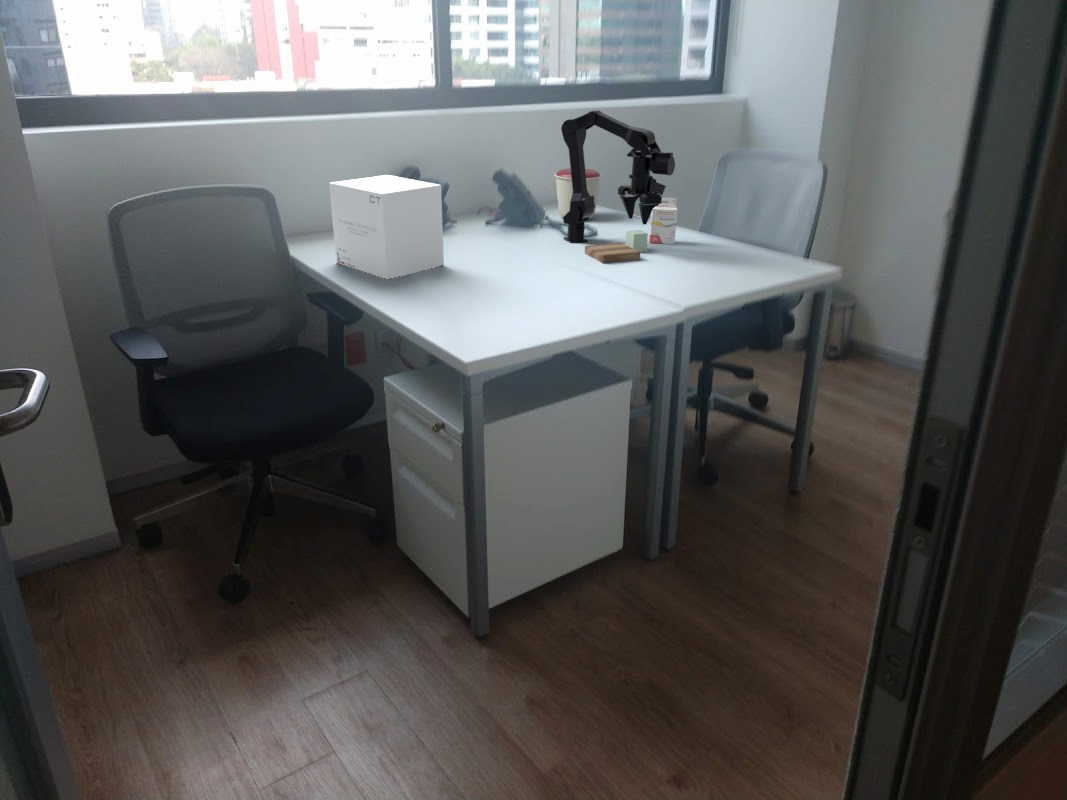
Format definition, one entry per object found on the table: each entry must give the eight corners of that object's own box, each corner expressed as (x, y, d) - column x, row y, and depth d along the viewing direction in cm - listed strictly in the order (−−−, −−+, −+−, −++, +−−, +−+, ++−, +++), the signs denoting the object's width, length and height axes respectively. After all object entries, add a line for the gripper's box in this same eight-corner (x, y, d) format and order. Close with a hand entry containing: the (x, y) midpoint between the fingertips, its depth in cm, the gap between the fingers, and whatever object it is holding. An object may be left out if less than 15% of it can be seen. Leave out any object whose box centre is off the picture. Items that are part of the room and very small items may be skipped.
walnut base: (584, 255, 261) (585, 245, 260) (620, 251, 266) (620, 242, 265) (602, 264, 250) (603, 255, 249) (639, 261, 255) (640, 252, 254)
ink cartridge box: (649, 243, 275) (652, 199, 269) (648, 240, 280) (652, 197, 274) (674, 244, 274) (678, 200, 268) (673, 241, 279) (677, 197, 273)
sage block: (625, 249, 267) (626, 231, 265) (638, 248, 269) (640, 230, 267) (632, 252, 263) (634, 234, 261) (646, 251, 265) (647, 233, 263)
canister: (586, 225, 300) (589, 166, 291) (544, 219, 308) (545, 162, 299) (608, 217, 314) (610, 161, 305) (567, 211, 322) (568, 157, 314)
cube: (336, 264, 246) (329, 182, 236) (392, 252, 260) (387, 174, 250) (387, 281, 231) (381, 193, 221) (443, 267, 245) (441, 184, 235)
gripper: (678, 175, 251) (674, 225, 257) (648, 166, 267) (644, 214, 273) (647, 177, 247) (643, 228, 254) (618, 168, 263) (615, 216, 269)
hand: (637, 221), depth 262 cm, fingers open, 9 cm apart
